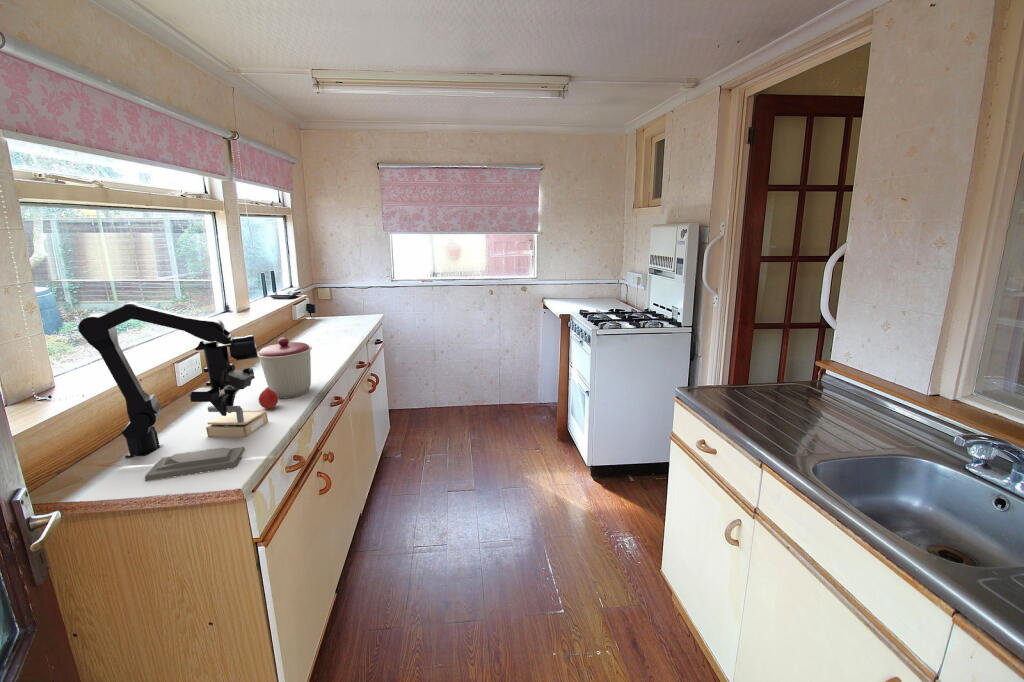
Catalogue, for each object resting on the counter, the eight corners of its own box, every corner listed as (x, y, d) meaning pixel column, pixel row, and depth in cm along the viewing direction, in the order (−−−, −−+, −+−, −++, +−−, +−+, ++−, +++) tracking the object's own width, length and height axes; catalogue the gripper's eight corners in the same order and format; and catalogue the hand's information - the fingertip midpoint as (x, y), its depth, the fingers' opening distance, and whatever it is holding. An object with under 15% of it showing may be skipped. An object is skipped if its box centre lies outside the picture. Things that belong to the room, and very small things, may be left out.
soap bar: (238, 432, 144) (237, 426, 144) (224, 433, 144) (223, 426, 143) (247, 424, 150) (246, 418, 149) (233, 424, 150) (232, 418, 149)
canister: (252, 400, 172) (242, 343, 167) (286, 384, 189) (278, 331, 184) (296, 403, 167) (287, 344, 162) (327, 386, 184) (320, 332, 179)
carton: (247, 438, 141) (245, 427, 140) (208, 438, 142) (206, 427, 141) (268, 423, 152) (266, 412, 151) (232, 422, 153) (230, 412, 152)
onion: (258, 414, 159) (254, 391, 157) (262, 407, 165) (258, 385, 163) (278, 411, 161) (274, 388, 159) (281, 405, 166) (277, 383, 164)
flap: (244, 424, 140) (242, 406, 139) (207, 424, 142) (204, 406, 141) (266, 412, 151) (263, 395, 150) (231, 412, 152) (228, 396, 151)
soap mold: (163, 464, 129) (160, 451, 128) (246, 452, 133) (244, 440, 133) (145, 483, 119) (142, 470, 118) (235, 470, 124) (233, 457, 123)
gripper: (222, 372, 128) (232, 427, 132) (264, 354, 146) (271, 403, 150) (183, 372, 129) (194, 427, 133) (229, 354, 147) (237, 402, 151)
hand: (227, 414), depth 142 cm, fingers closed
